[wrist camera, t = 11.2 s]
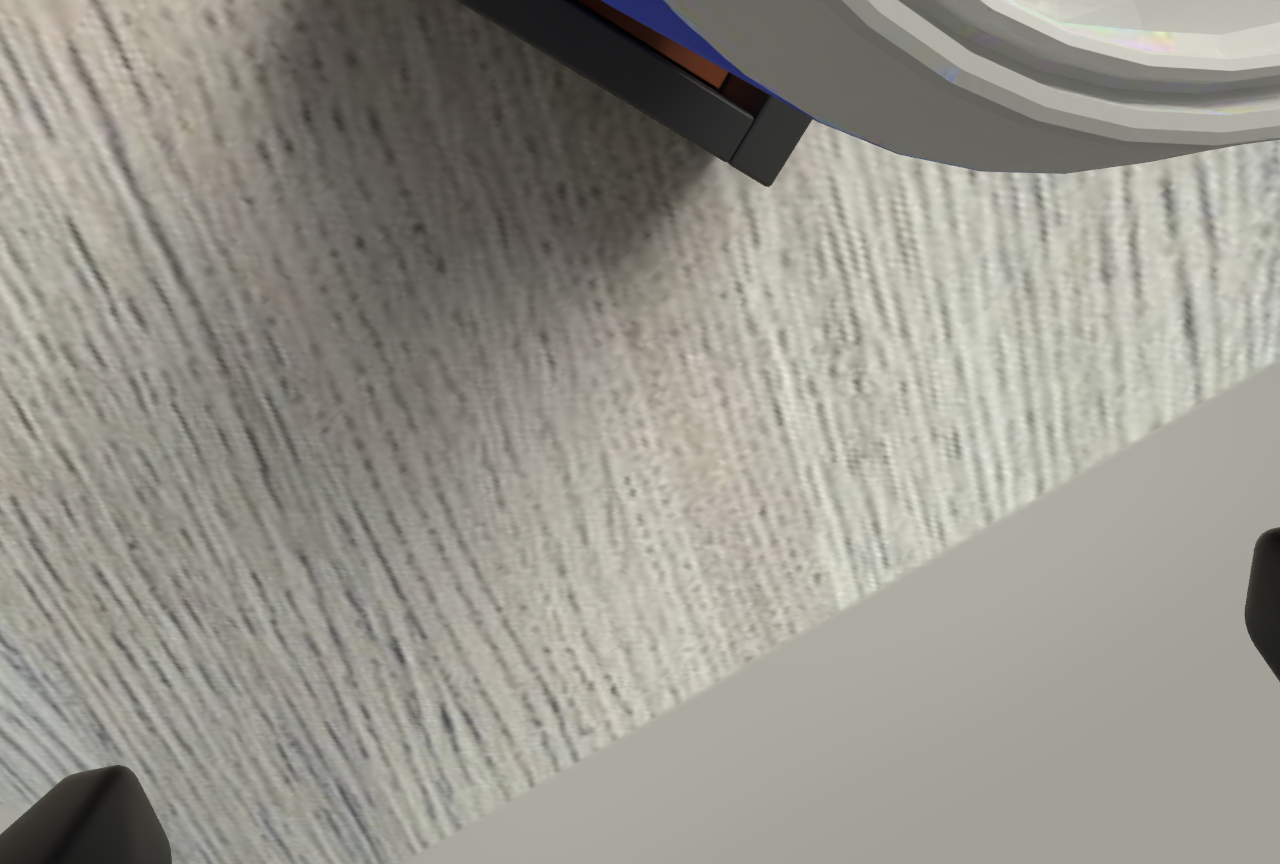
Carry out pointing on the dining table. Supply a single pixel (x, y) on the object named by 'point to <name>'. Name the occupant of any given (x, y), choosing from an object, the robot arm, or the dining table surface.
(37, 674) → the dining table surface
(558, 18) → the holder
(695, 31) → the beverage can
